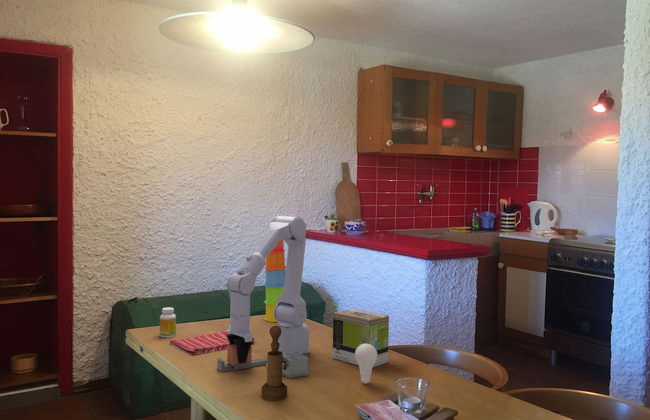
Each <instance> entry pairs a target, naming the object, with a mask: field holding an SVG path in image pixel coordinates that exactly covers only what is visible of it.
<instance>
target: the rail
mask: <svg viewBox="0 0 650 420" xmlns="http://www.w3.org/2000/svg"><path fill="white" fill-rule="evenodd" d="M225 362H226V361H225V360H224V359H223V358H222V357H219V358H217V370H218V371H219V372H221V373H222V372H223V373H224V372H226V371H227V372H228V371H234V370H233V366H232V365H230V364H229V363H228V362H227V363H225ZM266 365H267V357H262V358H256V359H252V362H251V363H250V368H251V367H253V368H254V367H260V366H266Z"/></svg>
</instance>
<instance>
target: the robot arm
mask: <svg viewBox="0 0 650 420" xmlns="http://www.w3.org/2000/svg"><path fill="white" fill-rule="evenodd" d="M268 226H269V230H268V231H267V233H266V235H265V236H264V238H263V239H262V240H261V243H260V244H259V246H258V248H257V250H256V251H255V252H251V253H249V254H247V256H246V257H245V258H246V259H245V260H244V262H243V263H242V264H241V265H240V267H239V268H238V269H237V271H236V272H235V273H232V274H231V275H230V276H228V278H227V282H226V284H225V286H226V289H227V290H228V293H229V294H228V295H229V298H230V299H229V300H230V301H229V302H230V303H229V304H230V308H229V309H230V310H229V311H230V313H229V314H230V315H229V319H230V321H229V322H230V323H228V325H227V329H226V333H228V334H227V335H226V337H227V339H228V341H229V343H230V345H234V344H235V345H236V349H237V356H238V362H239V363H245V362H246V360H247V357H248V353H249V350H250V347H251V346H253V344H254V342H255V339H252V337H253V334H252V332H251V331H252V329H251V327H250V326H251V320H250V319H251V294H252V292H253V291H254V290H255V287H256V282H257V278H258V276H259V275H260V273H261V272H262V271H263V269H265V267H266V257H267V256H268V254H269V253H270V252H271V251H272V250H273V248H274V247H275V246H276V245H277V243H278V242H279V241H280V240H283V241H284V242H285V243H286V245H287V246H288V247H287V255H286V256H287V257H286V263H285V266H286V268H285V270H286V273H285V282H284V292H283V295H281V296H280V297H279V298H278V299H277V304H276V307H275V309H274V317H275V319H276V320H277V322H276V324H277V325H278V326H279V327H280V328H281V335H280V337H279V339H278V343H279V344H280V346H279V350H278V351H281V352H282V353H283V354H289V353H296V352H299V353H301V354H302V355H304V354H310V352H311V351H310V331H309V330H310V329H309V327H308V325H307V324H306V323H305V322H306V320H307V316H308V315H307V314H308V312H307V307H306V306H307V305H306V304H307V303H306V301H305V299H304V298H303V297H302V296H301V288H302V280H303V271H304V270H303V269H304V261H305V250H306V243H307V242H306V240H307V239H306V234H307V233H306V232H307V223H306V222H305V221H304V219H303V218H302V217H300V216H287V215H285V216H284V215H276V216H274V217H273V219H272V221H271V222H270V223H269V225H268ZM252 343H253V344H252Z"/></svg>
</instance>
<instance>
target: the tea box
mask: <svg viewBox="0 0 650 420" xmlns="http://www.w3.org/2000/svg"><path fill="white" fill-rule="evenodd" d="M332 315H333V316H332V318H333V319H332V321H333V322H332V359H335V360H337V361H342V362H345V363H350V364H352V365H357V366H359V365H358V363H357V361H356V358H355V351H356V349H357V348H358V347H359V346H360V345H362V344H370V345H372V346H373V347H374V348H375V349H376V351H377V360H376V362H375V363H374V365H373V367H372V369H373V368H376V367H378V366H380V365H384V364H387V363H388V362H389V337H390V336H389V335H390V334H389V332H390V331H389V330H390V315H388V314H383V313H377V312H371V311H367V310H363V309H362V310H361V309H356V308H349V309H344V310H339V311H336V312H333V313H332Z"/></svg>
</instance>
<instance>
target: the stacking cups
mask: <svg viewBox="0 0 650 420" xmlns="http://www.w3.org/2000/svg"><path fill="white" fill-rule="evenodd" d="M284 242H285V241H284V240H280V241H279V242H278V243H277V245H276V246H275V247H274V248H273V250H272V251H271V252H270V253H269V254H268V256H267V257H266V258H265V262H266V265H265V266H264V270H265V283H264V287H265V300H264V301H263V302H264V304H265V316H264V317H263V320H265V322H270V323H277V320H276V319H275V317H274V309H275V307H276V304H277V299H278V298H279V297H280V296H281V295H283V292H284V282H285V273H286V261H285V260H286V259H285V258H286V256H285V252H286V250H285V246H284V245H285V243H284Z"/></svg>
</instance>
